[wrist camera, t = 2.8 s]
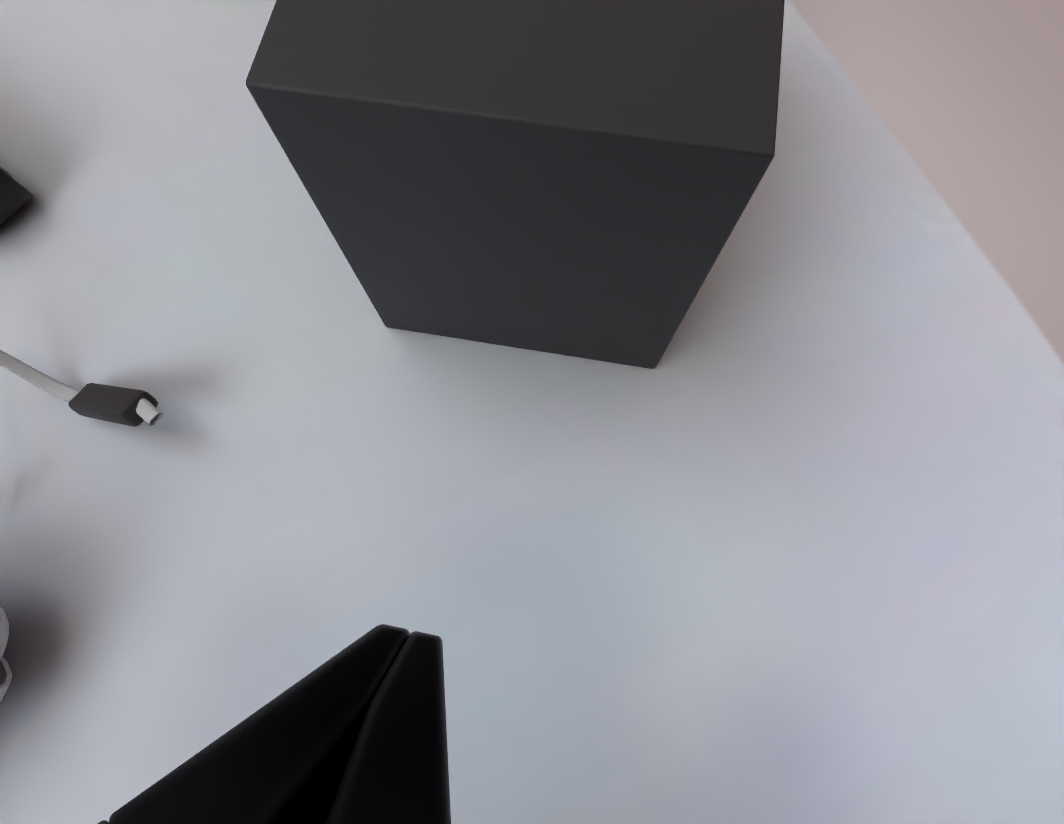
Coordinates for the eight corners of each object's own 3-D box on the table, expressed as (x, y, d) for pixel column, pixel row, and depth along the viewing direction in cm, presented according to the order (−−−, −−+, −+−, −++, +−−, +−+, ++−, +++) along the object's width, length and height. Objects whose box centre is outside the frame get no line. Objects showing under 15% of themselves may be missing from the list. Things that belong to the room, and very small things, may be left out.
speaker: (670, 372, 21) (806, 160, 11) (385, 327, 22) (242, 82, 11) (707, 31, 26) (830, -359, 15) (470, 1, 26) (426, -396, 15)
